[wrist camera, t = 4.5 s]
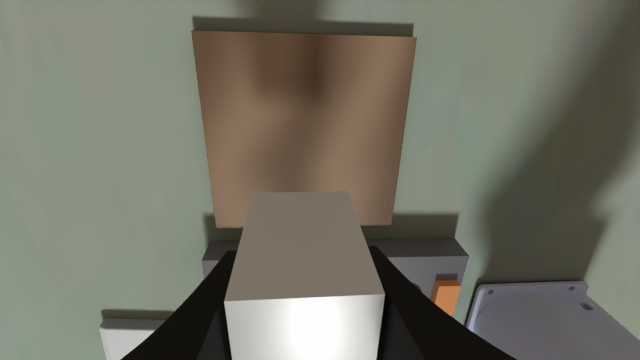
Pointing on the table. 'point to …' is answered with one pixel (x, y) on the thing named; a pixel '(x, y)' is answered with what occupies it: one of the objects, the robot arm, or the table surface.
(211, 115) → the walnut pad
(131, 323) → the external hard drive
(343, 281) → the plug
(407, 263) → the power strip
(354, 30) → the table surface
